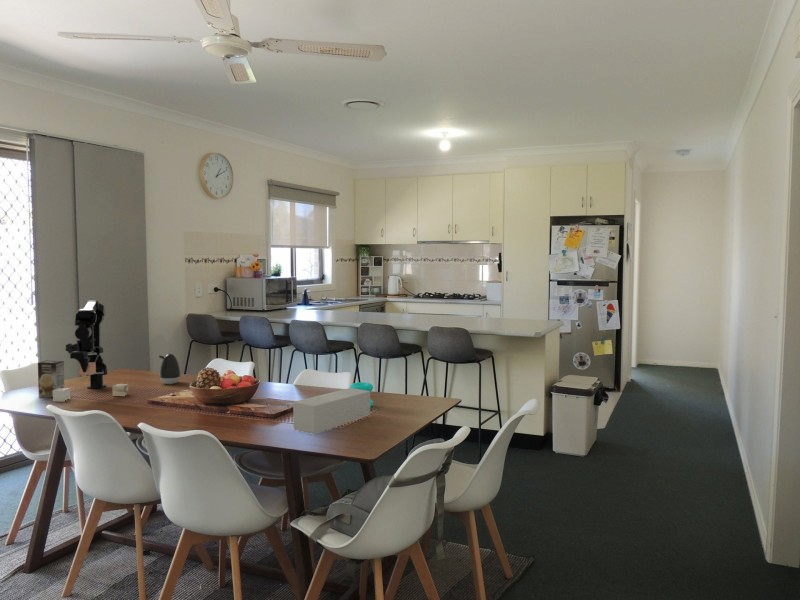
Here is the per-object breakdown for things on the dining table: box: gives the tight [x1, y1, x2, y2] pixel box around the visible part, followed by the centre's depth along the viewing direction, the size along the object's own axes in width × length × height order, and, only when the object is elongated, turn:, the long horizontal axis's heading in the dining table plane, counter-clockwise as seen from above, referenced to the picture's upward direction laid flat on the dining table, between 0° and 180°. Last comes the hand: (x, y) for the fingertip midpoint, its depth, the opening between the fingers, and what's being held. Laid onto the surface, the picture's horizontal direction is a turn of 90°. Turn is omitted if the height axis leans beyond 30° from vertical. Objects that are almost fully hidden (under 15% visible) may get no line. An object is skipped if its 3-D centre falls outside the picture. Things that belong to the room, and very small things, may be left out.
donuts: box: [349, 381, 374, 407], centre depth 272 cm, size 10×10×10 cm
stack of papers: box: [292, 387, 371, 435], centre depth 245 cm, size 32×11×11 cm, turn 143°
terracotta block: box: [78, 362, 96, 376], centre depth 288 cm, size 5×5×5 cm
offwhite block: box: [52, 387, 71, 402], centre depth 283 cm, size 5×5×5 cm
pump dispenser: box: [158, 353, 182, 385], centre depth 321 cm, size 10×10×15 cm
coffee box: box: [37, 359, 65, 398], centre depth 291 cm, size 9×6×16 cm
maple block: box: [112, 383, 129, 397], centre depth 293 cm, size 5×5×5 cm
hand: (87, 371), depth 288 cm, fingers closed on terracotta block, 5 cm apart
